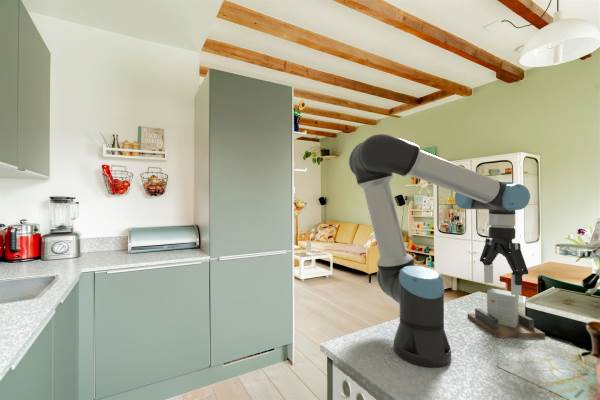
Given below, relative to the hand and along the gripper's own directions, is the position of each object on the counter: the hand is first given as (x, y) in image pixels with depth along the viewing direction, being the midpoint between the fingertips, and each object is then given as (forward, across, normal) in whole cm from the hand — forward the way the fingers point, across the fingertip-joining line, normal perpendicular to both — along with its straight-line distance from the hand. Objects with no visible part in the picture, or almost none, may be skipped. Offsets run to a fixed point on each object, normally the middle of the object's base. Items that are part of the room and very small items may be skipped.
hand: (501, 288), depth 98 cm
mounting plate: (+13, 0, -1) cm, 13 cm away
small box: (+12, 0, -1) cm, 12 cm away
